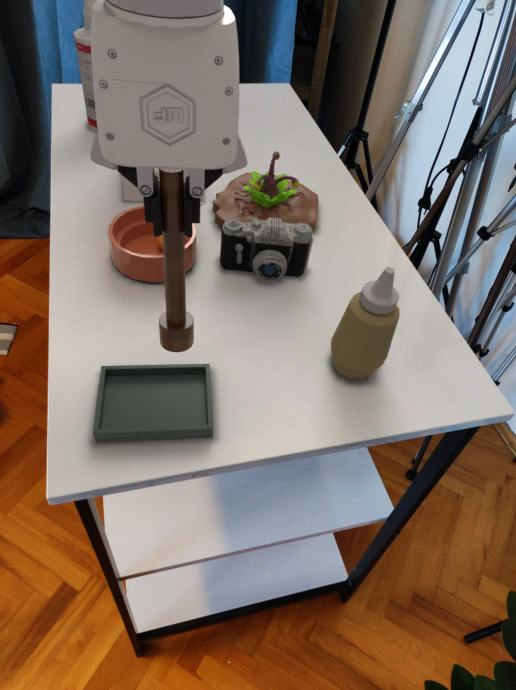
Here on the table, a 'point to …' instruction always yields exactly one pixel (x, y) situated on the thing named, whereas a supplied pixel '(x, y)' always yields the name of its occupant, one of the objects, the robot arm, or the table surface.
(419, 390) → the table surface
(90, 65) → the spray bottle
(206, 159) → the robot arm
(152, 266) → the copper shallow cylinder
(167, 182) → the brown wooden rod
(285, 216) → the plant
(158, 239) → the ball
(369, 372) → the squeeze bottle
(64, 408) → the table surface
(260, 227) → the camera
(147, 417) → the spoon tray
